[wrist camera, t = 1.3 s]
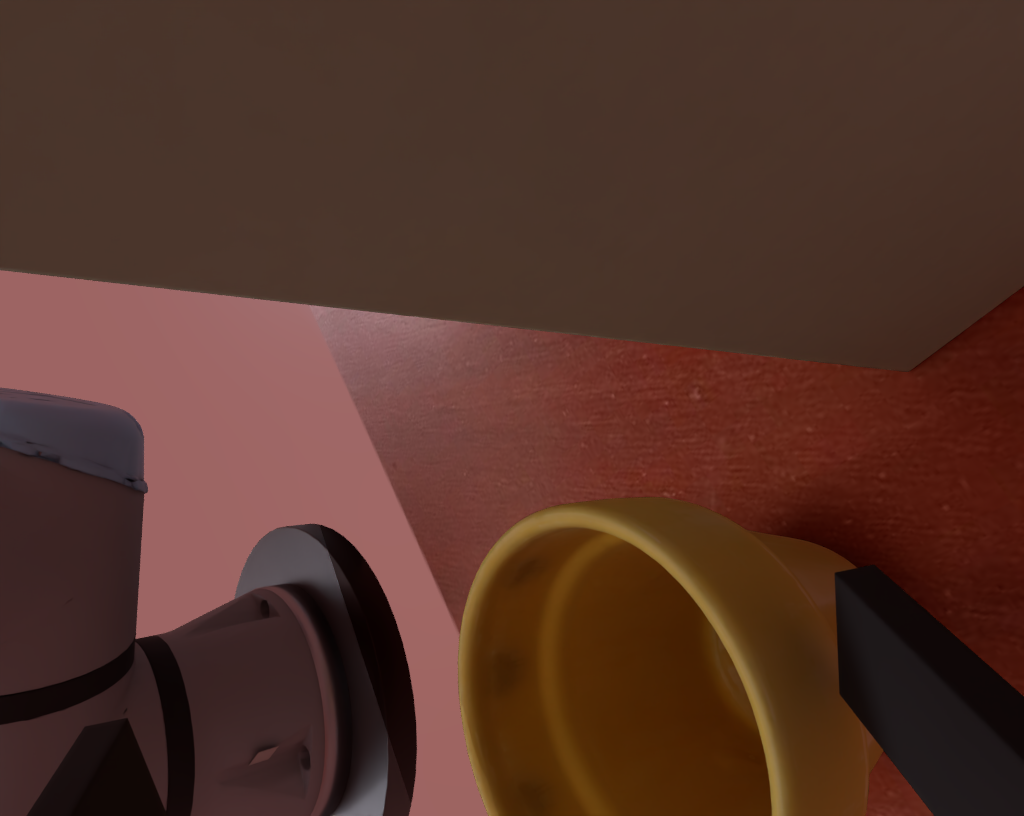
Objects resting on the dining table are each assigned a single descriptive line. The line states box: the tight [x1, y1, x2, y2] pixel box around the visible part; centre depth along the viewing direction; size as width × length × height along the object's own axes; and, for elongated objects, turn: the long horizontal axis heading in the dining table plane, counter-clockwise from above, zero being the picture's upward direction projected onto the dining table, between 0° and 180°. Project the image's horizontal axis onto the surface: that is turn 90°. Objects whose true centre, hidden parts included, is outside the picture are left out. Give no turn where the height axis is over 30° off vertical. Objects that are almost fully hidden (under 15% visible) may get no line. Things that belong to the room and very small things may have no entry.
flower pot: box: [458, 497, 883, 816], centre depth 20 cm, size 10×10×10 cm
